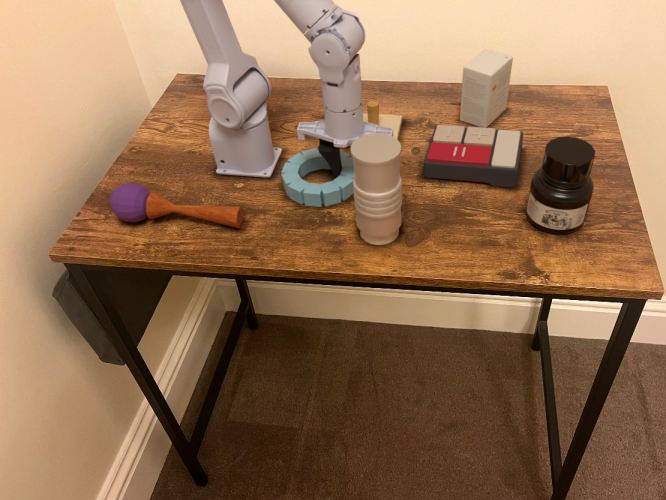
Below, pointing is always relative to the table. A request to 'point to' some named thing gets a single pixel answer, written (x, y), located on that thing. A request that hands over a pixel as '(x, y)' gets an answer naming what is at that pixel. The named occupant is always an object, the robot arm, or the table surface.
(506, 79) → the small box
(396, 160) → the ribbed beige cylinder
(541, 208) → the ink bottle
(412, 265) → the table surface
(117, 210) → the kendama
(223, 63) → the robot arm
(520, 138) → the button keypad
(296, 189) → the ring
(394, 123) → the peg stand
